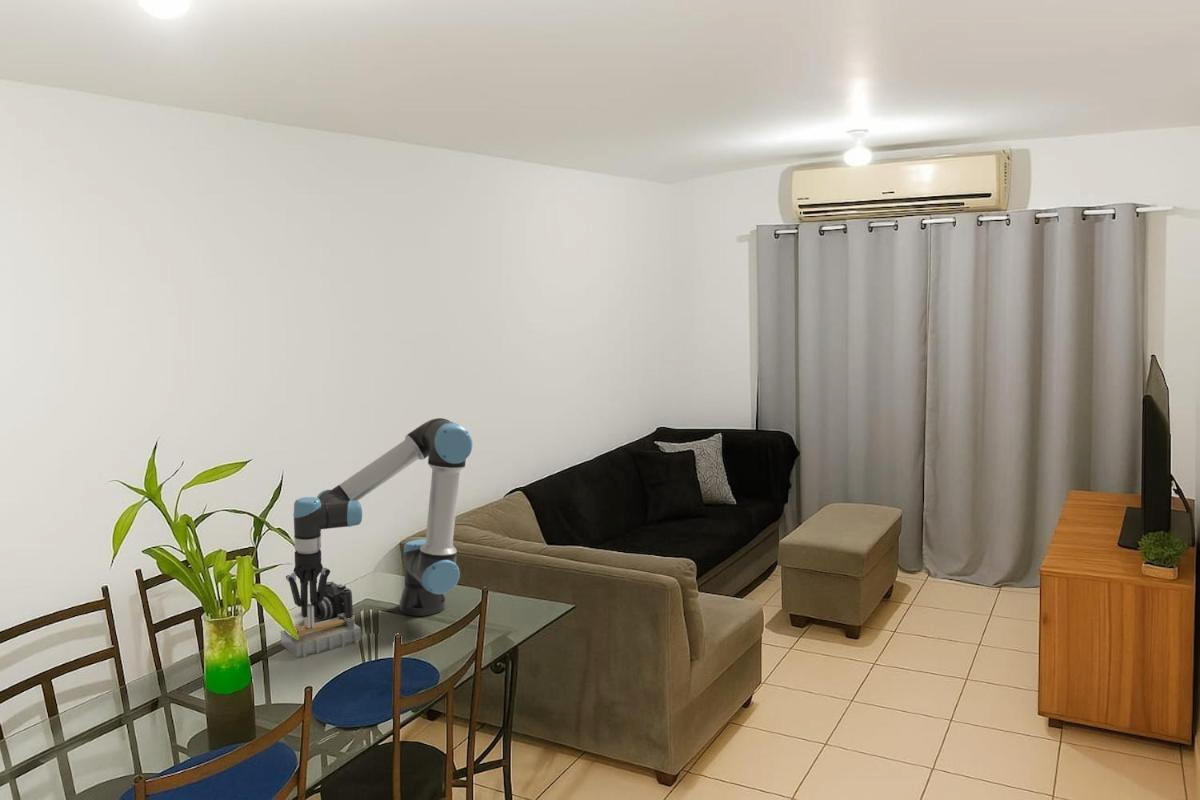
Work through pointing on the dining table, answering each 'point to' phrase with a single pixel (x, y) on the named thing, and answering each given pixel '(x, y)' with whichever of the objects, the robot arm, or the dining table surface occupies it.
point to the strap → (320, 626)
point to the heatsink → (322, 638)
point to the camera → (335, 602)
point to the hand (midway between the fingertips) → (309, 626)
